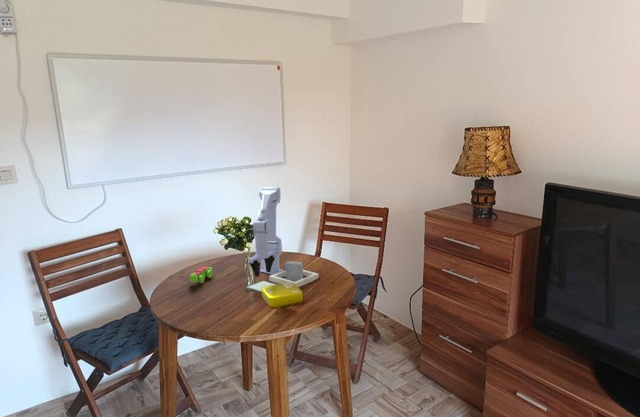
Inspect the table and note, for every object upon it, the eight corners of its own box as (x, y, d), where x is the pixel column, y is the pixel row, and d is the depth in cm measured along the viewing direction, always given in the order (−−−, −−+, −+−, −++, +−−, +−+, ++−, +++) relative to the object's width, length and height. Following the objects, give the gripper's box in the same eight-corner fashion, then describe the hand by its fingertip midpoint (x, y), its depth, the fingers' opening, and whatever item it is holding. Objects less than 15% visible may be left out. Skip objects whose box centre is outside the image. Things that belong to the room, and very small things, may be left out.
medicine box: (303, 278, 213) (302, 261, 211) (300, 281, 209) (300, 264, 207) (287, 277, 215) (287, 261, 213) (285, 280, 210) (284, 263, 209)
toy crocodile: (205, 272, 224) (204, 261, 223) (216, 273, 223) (216, 262, 222) (184, 286, 206) (183, 273, 204) (197, 287, 204) (196, 274, 203)
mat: (247, 287, 202) (247, 286, 202) (263, 281, 210) (263, 280, 210) (262, 292, 196) (262, 291, 196) (278, 286, 203) (278, 285, 203)
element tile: (260, 296, 193) (260, 285, 192) (292, 290, 199) (292, 280, 198) (270, 308, 179) (270, 297, 179) (304, 302, 185) (304, 291, 184)
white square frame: (269, 280, 211) (269, 276, 210) (293, 271, 223) (292, 267, 223) (295, 288, 200) (295, 283, 200) (318, 278, 213) (318, 273, 212)
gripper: (255, 250, 191) (257, 280, 193) (278, 243, 202) (279, 271, 205) (245, 248, 195) (246, 276, 198) (268, 241, 206) (269, 268, 209)
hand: (262, 274), depth 201 cm, fingers open, 7 cm apart
